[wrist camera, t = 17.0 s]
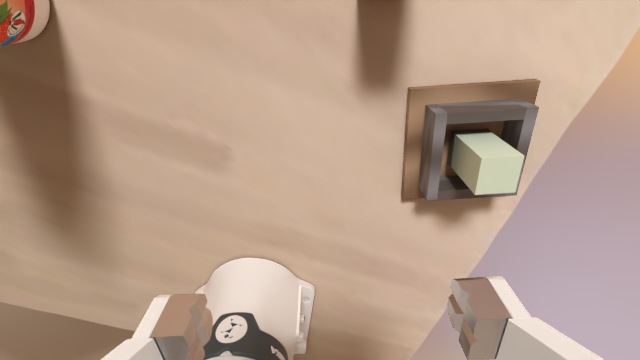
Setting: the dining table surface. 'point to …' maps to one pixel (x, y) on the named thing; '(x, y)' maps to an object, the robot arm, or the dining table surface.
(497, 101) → the socket board
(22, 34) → the fruit juice
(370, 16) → the dining table surface
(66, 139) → the dining table surface
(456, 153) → the sage peg
